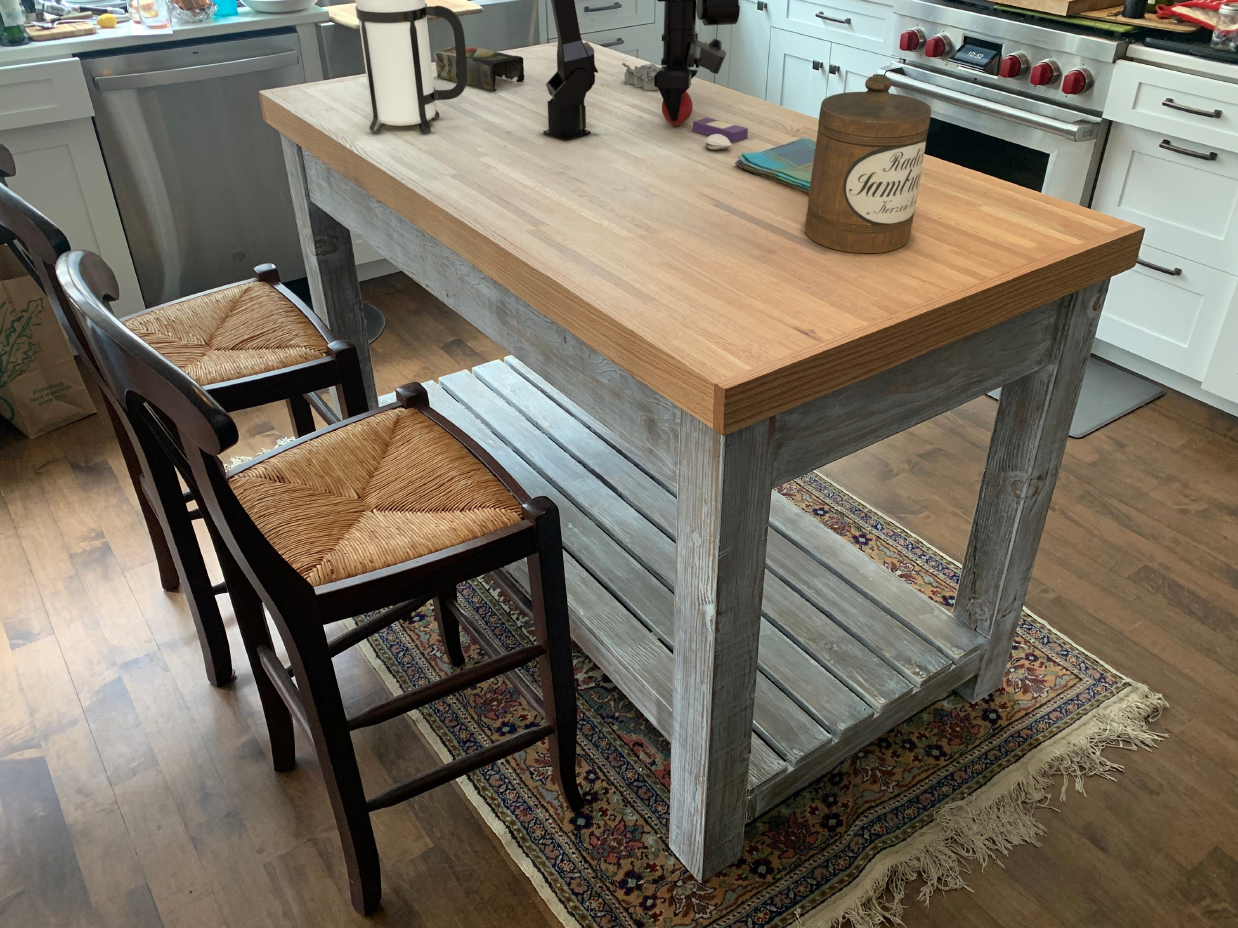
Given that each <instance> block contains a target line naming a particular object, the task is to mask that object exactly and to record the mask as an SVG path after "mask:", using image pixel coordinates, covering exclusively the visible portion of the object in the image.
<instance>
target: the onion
mask: <svg viewBox="0 0 1238 928" xmlns="http://www.w3.org/2000/svg"><path fill="white" fill-rule="evenodd" d="M693 106H694V105H693V100H692V98H691V95H690V93H688V92H686V91H685V92H684V93H683V96H682V101H681V106H680V111H679V115H678V120H677V121H672V120H671V118H670V116H669V113H668V110H667V108H666V105H665V103H664V100H663V99H662V103H661V113H662V115H663V117H664V119H665V120H666V121H667V122H668V123H669V124H671V125H672V126H673V127H675V128H679V127H680V126H681V125H683V124H684V123H685V122H687V120H688V119H690V117H691V115H692V114H693V113H692V112H693V109H694V107H693Z"/></svg>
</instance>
